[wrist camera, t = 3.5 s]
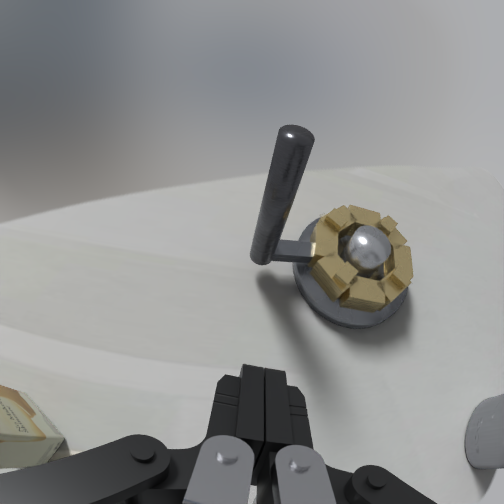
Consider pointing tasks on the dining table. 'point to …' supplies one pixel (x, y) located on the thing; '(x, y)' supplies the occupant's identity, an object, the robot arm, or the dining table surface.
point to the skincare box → (24, 431)
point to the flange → (369, 266)
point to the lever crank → (325, 233)
